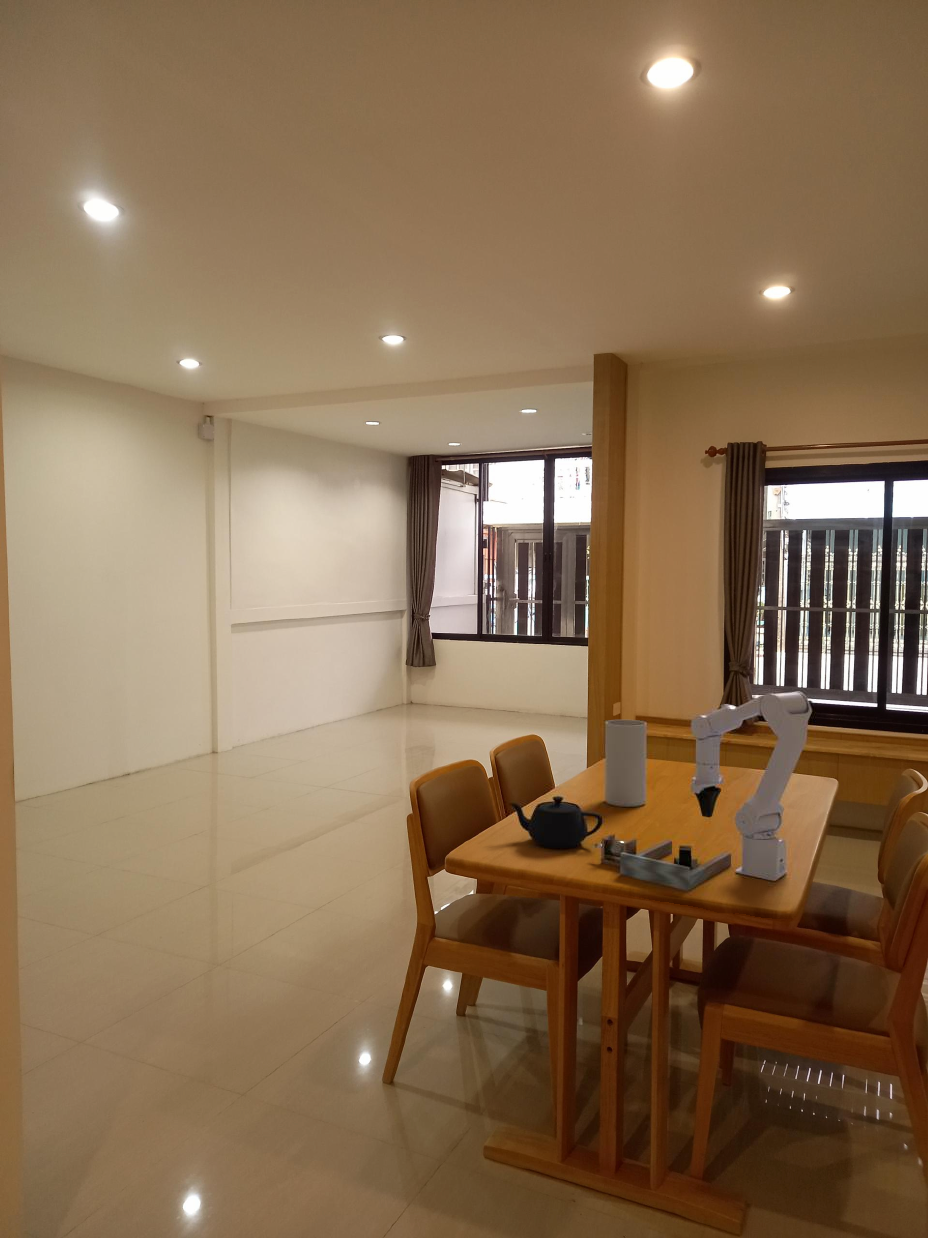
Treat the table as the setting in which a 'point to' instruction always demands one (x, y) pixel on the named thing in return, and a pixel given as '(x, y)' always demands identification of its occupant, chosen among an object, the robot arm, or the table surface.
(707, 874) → the bay
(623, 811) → the table surface
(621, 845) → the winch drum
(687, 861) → the black holder block
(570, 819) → the teapot
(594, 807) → the table surface
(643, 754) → the cylinder vase
